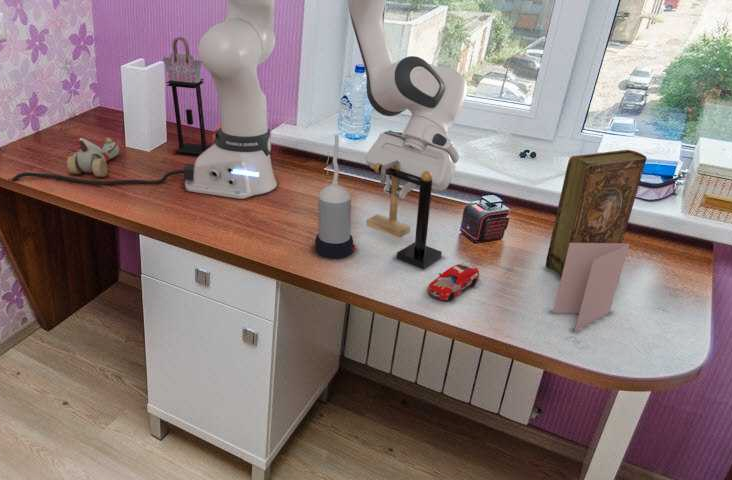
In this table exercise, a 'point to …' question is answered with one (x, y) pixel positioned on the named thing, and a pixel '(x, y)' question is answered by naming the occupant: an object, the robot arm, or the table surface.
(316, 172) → the table surface
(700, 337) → the table surface
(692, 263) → the table surface
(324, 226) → the humidifier
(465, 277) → the race car
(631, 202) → the book
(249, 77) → the robot arm
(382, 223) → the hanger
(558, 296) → the greeting card
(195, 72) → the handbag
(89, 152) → the toy dog
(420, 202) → the stand
